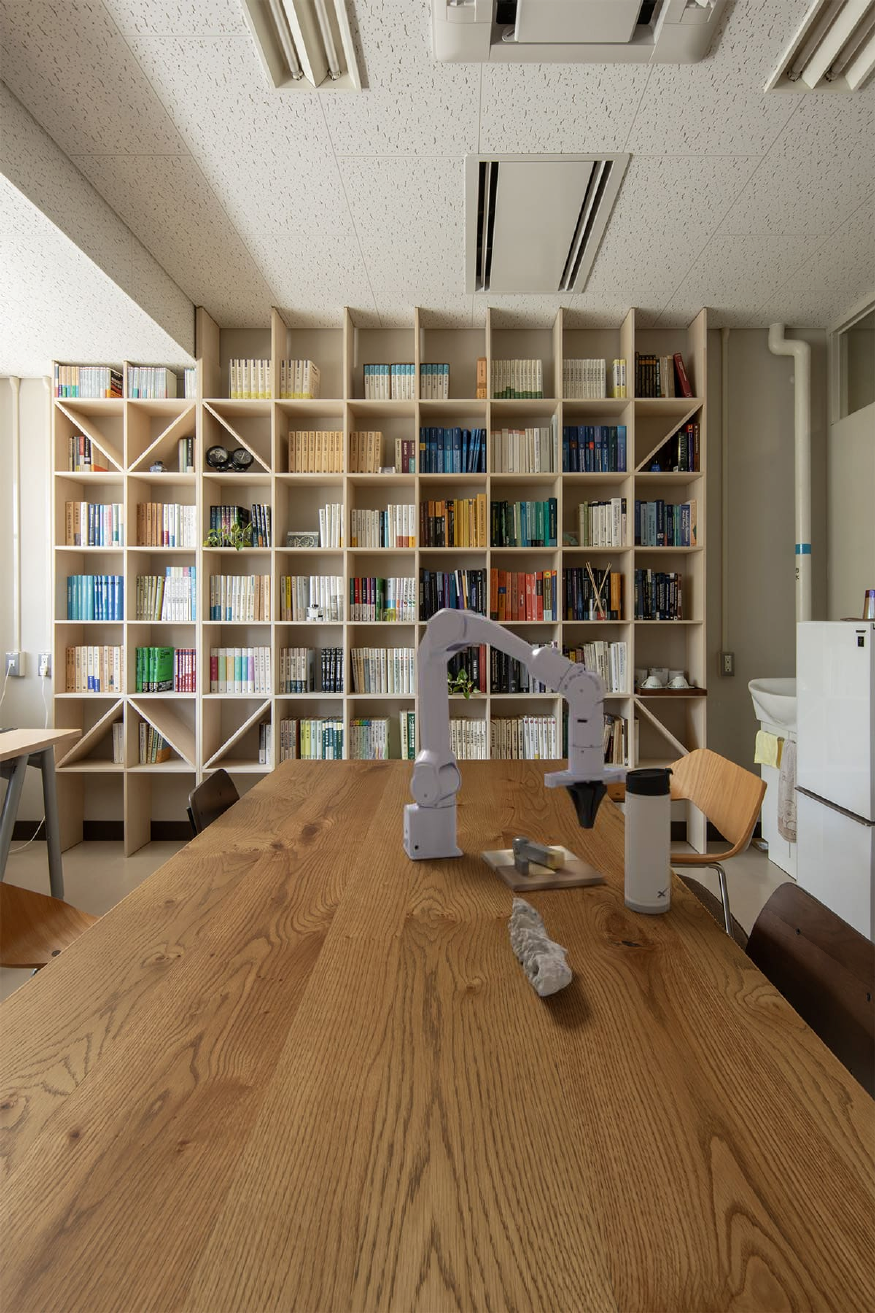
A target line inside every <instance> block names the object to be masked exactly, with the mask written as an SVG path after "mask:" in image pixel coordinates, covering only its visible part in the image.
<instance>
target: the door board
mask: <svg viewBox="0 0 875 1313" xmlns="http://www.w3.org/2000/svg"><path fill="white" fill-rule="evenodd" d="M548 847H549V848H552V849H555V850H559V851H562V852H565V866H564V867H560V868H557V869H553V868H550V867H548V866H546V865H543V864H541V863H538V862H535V861H533V860H530V859H528V858H525V857H524V856H523V855H514V854H513V848H512V849H502V850H501V849H499V850H498V849H497V850H488V851H486V850H485V851H481V858H482V859H483V861H484V862H485V863H486V864H487V865H488V866H489V867H490V868H491V869H492V870H493V872H495V873H496V875H497V876H499V878H500V879H501V880H502V881H503V882H504V883H505V884H506V885H507V886H508V888H509V889H510V890H511V891H512V892H514V893H515V892H524V891H536V890H545V889H546V890H547V889H557V888H558V889H559V888H569V887H580V886H589V885H590V886H593V885H601V884H605V877H604V876H603V875H602V874H600V873H599V872H598V871H597V870H595V869H593V868H592V867H591V866H590V865H588V864H587V863H586V862H584V861H583V860H581V859H580V858H578V857H577V856H576V855H575V854H573V853H572V852H571V851H570V850H568V849H566V848H565V847H564V846H562V845H552V846H548Z"/></svg>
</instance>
